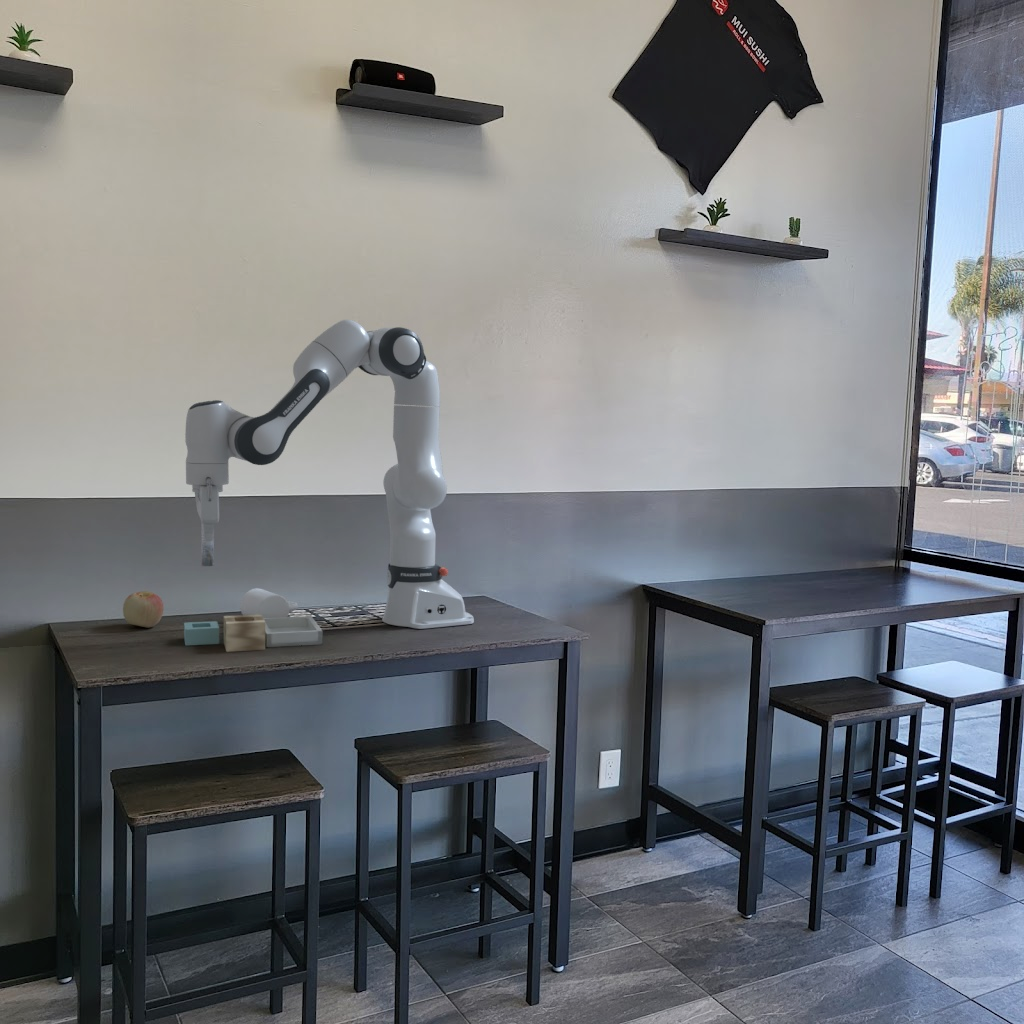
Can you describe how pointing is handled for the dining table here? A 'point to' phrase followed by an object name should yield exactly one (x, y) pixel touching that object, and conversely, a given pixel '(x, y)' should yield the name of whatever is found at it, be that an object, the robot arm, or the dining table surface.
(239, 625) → the beech block
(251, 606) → the mug
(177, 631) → the dining table surface
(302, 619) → the tray
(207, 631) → the stand
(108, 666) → the dining table surface
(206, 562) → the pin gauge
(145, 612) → the apple
